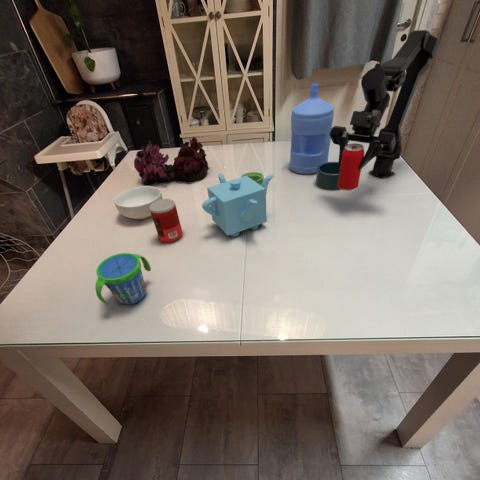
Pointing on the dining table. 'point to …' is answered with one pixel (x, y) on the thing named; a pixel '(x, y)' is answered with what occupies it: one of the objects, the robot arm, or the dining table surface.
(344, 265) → the dining table surface
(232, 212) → the teakettle
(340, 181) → the beverage can
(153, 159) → the flower arrangement
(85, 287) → the dining table surface
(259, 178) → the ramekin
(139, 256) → the snack cup
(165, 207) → the canned food
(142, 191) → the cereal bowl
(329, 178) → the pot
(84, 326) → the dining table surface
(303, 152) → the water jug
